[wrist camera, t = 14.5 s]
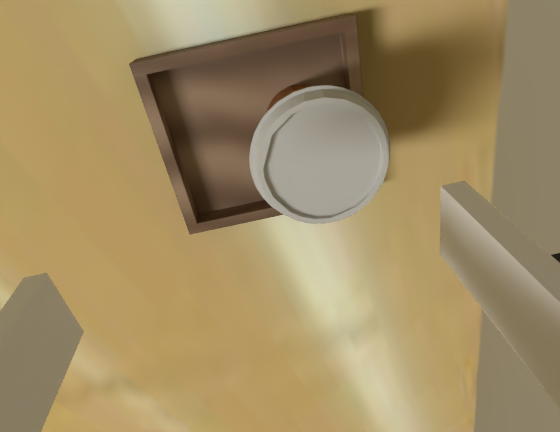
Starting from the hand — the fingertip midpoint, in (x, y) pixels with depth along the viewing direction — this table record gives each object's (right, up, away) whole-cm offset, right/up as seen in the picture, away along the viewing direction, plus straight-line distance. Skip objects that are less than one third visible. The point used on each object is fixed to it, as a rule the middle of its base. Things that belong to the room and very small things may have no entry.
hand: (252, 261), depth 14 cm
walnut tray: (-1, +10, +24) cm, 26 cm away
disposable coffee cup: (+3, +10, +23) cm, 26 cm away
